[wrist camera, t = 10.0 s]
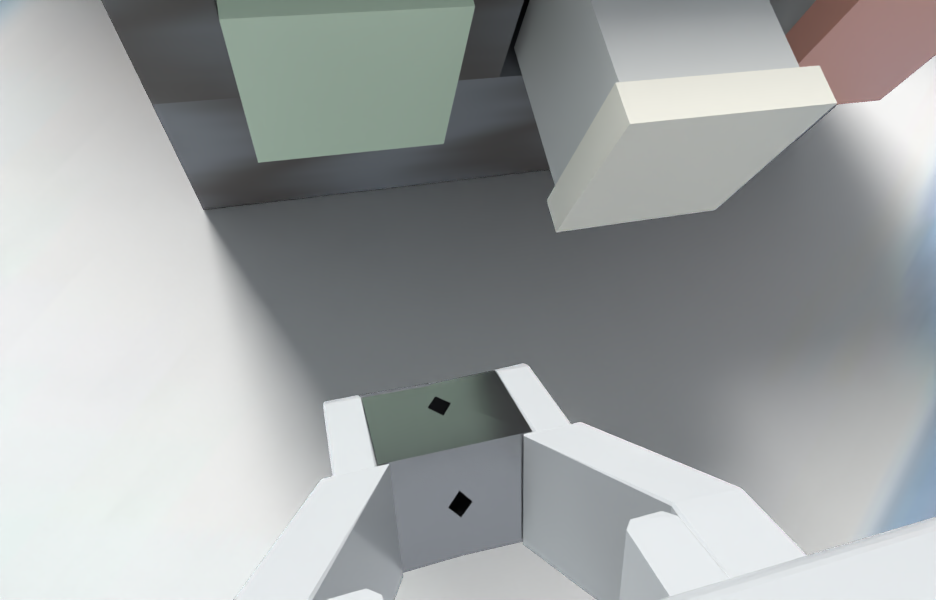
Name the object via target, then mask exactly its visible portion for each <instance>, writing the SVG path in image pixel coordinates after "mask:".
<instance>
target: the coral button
mask: <svg viewBox="0 0 936 600" xmlns="http://www.w3.org/2000/svg"><path fill="white" fill-rule="evenodd" d="M769 1H770V3H771V6H772V8H773V10H774V12H775V14H776V17H777V19H778V21H779V23H780V25H781V27H782V30H783V32H784V34H785V36H786V38H787V41H788V43H789V45H790V47H791V49H792V51H793V54H794V56H795V58H796V60H797V62H798V65H799V67H807V66H819V65H820V67H821V70H822V72H823V74H824V76H825V78H826V80H827V82H828V84H829V87H830V89H831V91H832V93H833V95H834V97H835V99H836V101H837V104H846V103H856V102H866V101H876V100H881V99H882V98H883V97H884V96H886V95H887V94H888V93H889V92H891V91H892V90H893V89H894V88H895V87H897V86H898V85H899V84H900V83H902V82H903V81H904V80H905V79H907V78H908V77H909V76H910V75H911V74H913V73H914V72H915V71H916V70H918V69H919V68H920V67H921V66H923V65H924V64H925V63H926V62H928V61H929V60H930V59H931V58H932V57H934V56H935V55H936V0H769ZM837 104H836V105H837Z"/></svg>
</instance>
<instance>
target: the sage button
mask: <svg viewBox="0 0 936 600" xmlns="http://www.w3.org/2000/svg"><path fill="white" fill-rule="evenodd" d="M217 7H218V15H219V21H220V25H221V28H222V32H223V36H224V39H225V43H226V47H227V50H228V54H229V58H230V61H231V65H232V69H233V72H234V76H235V80H236V83H237V87H238V91H239V94H240V98H241V102H242V105H243V109H244V113H245V116H246V120H247V124H248V127H249V131H250V135H251V138H252V142H253V145H254V149H255V153H256V156H257V160H258V163H260V162H270V161H280V160H289V159H299V158H309V157H319V156H329V155H339V154H349V153H358V152H368V151H378V150H388V149H398V148H408V147H418V146H427V145H437V144H444V140H445V136H446V132H447V127H448V123H449V119H450V114H451V110H452V105H453V101H454V97H455V92H456V88H457V83H458V79H459V75H460V70H461V66H462V62H463V57H464V53H465V48H466V44H467V40H468V35H469V31H470V26H471V22H472V18H473V13H474V9H475V4H474V1H473V0H217Z"/></svg>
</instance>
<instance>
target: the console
mask: <svg viewBox="0 0 936 600" xmlns="http://www.w3.org/2000/svg"><path fill="white" fill-rule="evenodd" d="M101 1H102V3H103V5H104V7H105V9H106V11H107V13H108V15H109V17H110V19H111V21H112V23H113V25H114V27H115V29H116V31H117V33H118V35H119V37H120V40H121V42H122V44H123V46H124V48H125V50H126V52H127V54H128V56H129V58H130V60H131V62H132V64H133V66H134V68H135V70H136V72H137V74H138V76H139V78H140V81H141V83H142V85H143V87H144V89H145V91H146V93H147V95H148V97H149V99H150V101H151V103H152V105H153V107H154V109H155V111H156V113H157V115H158V117H159V119H160V122H161V124H162V126H163V128H164V130H165V132H166V134H167V136H168V138H169V140H170V142H171V144H172V146H173V148H174V150H175V152H176V154H177V156H178V158H179V160H180V162H181V165H182V167H183V169H184V171H185V173H186V175H187V177H188V179H189V181H190V183H191V185H192V187H193V189H194V191H195V193H196V195H197V197H198V199H199V201H200V203H201V206H202V208H203V210H204V209H212V208H221V207H230V206H238V205H247V204H256V203H264V202H273V201H282V200H290V199H299V198H307V197H316V196H325V195H333V194H342V193H351V192H359V191H368V190H377V189H385V188H394V187H403V186H411V185H420V184H429V183H437V182H446V181H455V180H463V179H472V178H481V177H489V176H498V175H506V174H515V173H524V172H532V171H541V170H550V167H549V164H548V161H547V157H546V154H545V151H544V147H543V144H542V140H541V137H540V134H539V130H538V127H537V124H536V120H535V117H534V114H533V110H532V107H531V103H530V100H529V97H528V93H527V90H526V87H525V83H524V80H523V76H522V73H521V70H520V66H519V63H518V60H517V56H516V53H515V50H514V46H515V43H516V40H517V37H518V34H519V31H520V28H521V25H522V22H523V19H524V16H525V13H526V10H527V7H528V4H529V1H530V0H473V1H474V4H475V9H474V13H473V18H472V22H471V26H470V31H469V35H468V40H467V44H466V48H465V53H464V57H463V62H462V66H461V70H460V75H459V79H458V83H457V88H456V92H455V97H454V101H453V105H452V110H451V114H450V119H449V123H448V127H447V132H446V136H445V140H444V144H437V145H427V146H418V147H408V148H398V149H388V150H378V151H368V152H358V153H349V154H339V155H329V156H319V157H309V158H299V159H289V160H280V161H270V162H260V163H258V160H257V156H256V153H255V149H254V145H253V142H252V138H251V135H250V131H249V127H248V124H247V120H246V116H245V113H244V109H243V105H242V102H241V98H240V94H239V91H238V87H237V83H236V80H235V76H234V72H233V69H232V65H231V61H230V58H229V54H228V50H227V47H226V43H225V39H224V36H223V32H222V28H221V25H220V21H219V15H218V7H217V0H101ZM837 105H838V104H837ZM835 106H836V105H834V106H833V107H832V108H831V109H830V110H829V111H828V112H830V111H831V110H832V109H833V108H834V107H835ZM828 112H826V113H825V114H824V115H823V116H822V117H821V118H820V119H822V118H823V117H824V116H825V115H826V114H827V113H828ZM820 119H818V120H817V121H816V122H815V123H814V124H813V125H812V126H814V125H815V124H816V123H817V122H818V121H819V120H820ZM812 126H810V127H809V128H808V129H807V130H806V131H805V132H807V131H808V130H809V129H810V128H811V127H812ZM805 132H804V133H805ZM804 133H803V134H804ZM803 134H801V135H800V136H799V137H798V138H797V139H799V138H800V137H801V136H802V135H803ZM797 139H796V140H797ZM796 140H795V141H796Z"/></svg>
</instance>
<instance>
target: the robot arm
mask: <svg viewBox="0 0 936 600" xmlns="http://www.w3.org/2000/svg"><path fill="white" fill-rule="evenodd" d="M360 397H361V398H360ZM360 397H359V396H358V395H355V396H350V397H345V398H340V399H335V400H330V401H325V402H324V405H323V410H324V417H325V425H326V432H327V440H328V447H329V455H330V462H331V470H332V476H330V477H326V478H322V479H321V480H320V481H319V483H318V484H317V485H316V487H315V488H314V490H313V491H312V492H311V494H310V495H309V496H308V498H307V499H306V501H305V502H304V503H303V505H302V506H301V507H300V509H299V510H298V512H297V513H296V514H295V516H294V517H293V518H292V520H291V521H290V523H289V524H288V525H287V527H286V528H285V529H284V531H283V532H282V534H281V535H280V536H279V538H278V539H277V540H276V542H275V543H274V545H273V546H272V547H271V549H270V550H269V551H268V553H267V554H266V556H265V557H264V558H263V560H262V561H261V563H260V564H259V565H258V567H257V568H256V569H255V571H254V572H253V574H252V575H251V576H250V578H249V579H248V580H247V582H246V583H245V585H244V586H243V587H242V589H241V590H240V591H239V593H238V594H237V596H236V597H235V598H234V600H395V597H396V595H397V592H398V589H399V587H400V584H401V581H402V578H403V573H404V572H407V571H410V570H414V569H417V568H421V567H424V566H428V565H431V564H435V563H438V562H441V561H445V560H448V559H452V558H455V557H459V556H462V555H466V554H471V553H475V552H479V551H484V550H488V549H492V548H497V547H501V546H505V545H510V544H514V543H518V542H523V545H525V546H526V547H527V548H529V549H530V550H531V551H533V552H534V553H535V554H537V555H538V556H539V557H541V558H542V559H543V560H545V561H546V562H547V563H549V564H550V565H551V566H553V567H554V568H555V569H557V570H558V571H559V572H561V573H562V574H563V575H565V576H566V577H567V578H569V579H570V580H571V581H573V582H574V583H575V584H577V585H578V586H579V587H581V588H582V589H583V590H585V591H586V592H587V593H589V594H590V595H591V596H593V597H594V598H595V599H597V600H936V517H933V518H930V519H927V520H923V521H920V522H917V523H913V524H910V525H906V526H903V527H900V528H896V529H893V530H890V531H886V532H883V533H880V534H876V535H873V536H870V537H866V538H863V539H860V540H856V541H853V542H850V543H846V544H843V545H840V546H836V547H833V548H830V549H826V550H823V551H820V552H816V553H813V554H810V555H806V554H805V553H804V552H803V551H802V550H801V549H800V548H799V547H798V546H797V545H796V543H795V542H794V541H793V540H792V539H791V538H790V537H789V536H788V535H787V534H786V533H785V532H784V531H783V530H782V529H781V528H780V527H779V526H778V525H777V524H776V523H775V522H774V521H773V520H772V519H771V518H770V517H769V516H768V515H767V514H766V513H765V512H764V510H763V509H762V508H761V507H760V506H759V505H758V504H757V503H756V502H755V501H754V500H753V499H752V498H751V497H750V496H749V495H748V494H747V493H746V492H745V491H744V490H743V489H742V488H740V487H738V486H736V485H733V484H731V483H728V482H726V481H723V480H721V479H719V478H716V477H714V476H711V475H709V474H706V473H704V472H702V471H699V470H697V469H694V468H692V467H689V466H687V465H685V464H682V463H680V462H677V461H675V460H672V459H670V458H668V457H665V456H663V455H660V454H658V453H655V452H653V451H651V450H648V449H646V448H643V447H641V446H638V445H636V444H633V443H631V442H629V441H626V440H624V439H621V438H619V437H616V436H614V435H612V434H609V433H607V432H604V431H602V430H599V429H597V428H595V427H592V426H590V425H587V424H585V423H582V422H578V423H573V424H571V423H570V421H569V420H568V418H567V417H566V416H565V414H564V413H563V412H562V410H561V409H560V408H559V406H558V405H557V403H556V402H555V401H554V399H553V398H552V397H551V395H550V394H549V392H548V391H547V390H546V388H545V387H544V386H543V384H542V383H541V382H540V380H539V379H538V377H537V376H536V375H535V373H534V372H533V371H532V369H531V368H530V366H529V365H527V364H524V363H522V364H517V365H513V366H508V367H504V368H500V369H495V370H492V371H488V372H484V373H479V374H474V375H470V376H465V377H460V378H455V379H451V380H446V381H441V382H436V383H432V384H428V383H427V384H421V385H415V386H409V387H403V388H397V389H391V390H386V391H380V392H374V393H368V394H362V395H360Z"/></svg>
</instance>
